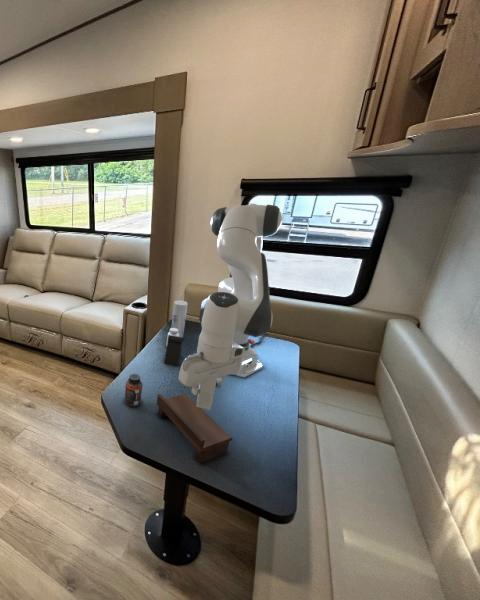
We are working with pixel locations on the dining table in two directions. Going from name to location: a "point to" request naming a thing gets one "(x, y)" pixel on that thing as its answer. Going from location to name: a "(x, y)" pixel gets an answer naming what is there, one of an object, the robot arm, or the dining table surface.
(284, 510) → the dining table surface
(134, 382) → the supplement bottle
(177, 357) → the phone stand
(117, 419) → the dining table surface
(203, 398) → the cosmetic box
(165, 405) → the dark wooden riser
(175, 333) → the supplement bottle
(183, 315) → the spray can
